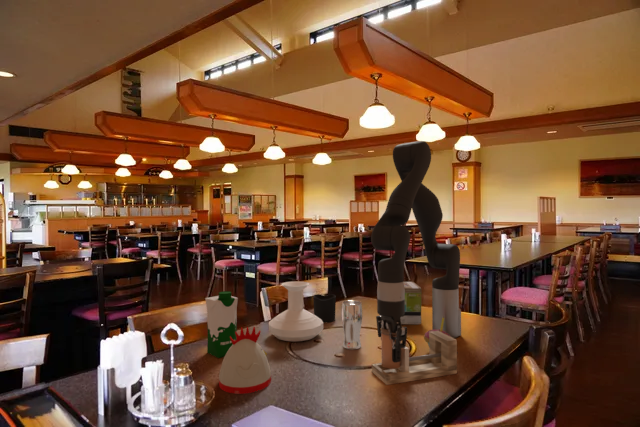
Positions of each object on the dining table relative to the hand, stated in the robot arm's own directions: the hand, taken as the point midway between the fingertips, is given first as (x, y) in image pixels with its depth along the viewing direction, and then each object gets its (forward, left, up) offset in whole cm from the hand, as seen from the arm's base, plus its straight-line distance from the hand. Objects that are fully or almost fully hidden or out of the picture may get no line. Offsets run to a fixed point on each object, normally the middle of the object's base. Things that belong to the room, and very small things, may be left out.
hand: (391, 357), depth 113 cm
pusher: (-12, 0, -4) cm, 12 cm away
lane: (-7, 0, -5) cm, 9 cm away
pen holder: (-1, -60, -5) cm, 60 cm away
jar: (0, 0, -2) cm, 2 cm away
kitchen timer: (+39, -10, -5) cm, 40 cm away
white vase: (+16, -43, -5) cm, 46 cm away
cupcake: (-23, -12, -5) cm, 26 cm away
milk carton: (+43, -35, -5) cm, 56 cm away
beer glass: (+1, -26, -5) cm, 26 cm away
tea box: (-33, -49, -5) cm, 59 cm away
